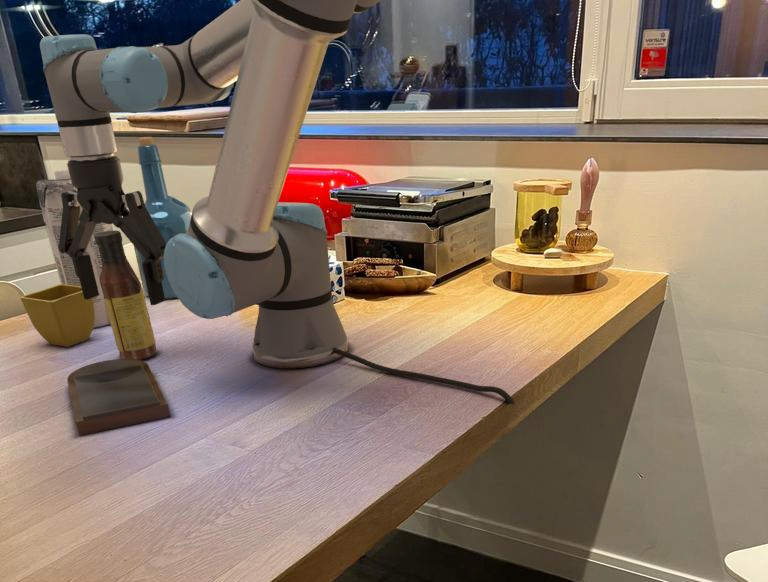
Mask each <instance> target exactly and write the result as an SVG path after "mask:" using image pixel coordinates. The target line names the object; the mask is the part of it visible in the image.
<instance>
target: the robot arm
mask: <svg viewBox="0 0 768 582" xmlns="http://www.w3.org/2000/svg"><path fill="white" fill-rule="evenodd" d="M381 1H382V0H239V1H238V2H236V3H235V4H233V5H232V6H231V7H229V8H228V9H226V10H225V11H224V12H223V13H221V14H219V16H217V17H216V18H215V19H214V20H212V21H211V22H210V23H207V24H206V25H205V26H204V27H203V28H201V29H200V30H198V31H197V32H196V33H195V34H194V35H192V36H191V37H189V38H188V39H187V40H185V41H184V42H182V43H180V44H177V45H159V46H136V45H135V46H134V45H133V46H132V45H130V46H124V45H122V46H117V47H113V48H105V49H98V48H97V45H96V41H95V39H94V37H93V36H92V35H90V34H85V33H83V34H81V33H79V34H62V35H61V34H60V35H47V36H44V37H42V38H41V40H40V42H39V48H40V49H39V50H40V54H41V58H42V64H43V67H42V69H43V70H42V71H43V74H44V77H45V79H46V84H47V88H48V92H49V96H50V99H51V103H52V107H53V111H54V115H55V120H56V123H57V126H58V131H59V135H60V141H61V145H62V149H63V154H64V156H65V157H67V158H69V160H68V161H67V163H66V166H67V170H69V174H70V179H71V183H72V185H73V186H74V187H75V188H77V191H76V190H71V191H67V192H63V193H61V198H62V204H63V212H62V221H61V230H60V239H59V251H60V252H61V253H66V254H68V255H69V256H70V257H71V258H72V261H73V265H74V269H75V273H76V275H77V277H79V280H80V284H81V288H82V292H83V296H84V299H87V300H88V299H91V298H93V297H96V296H98V295H99V292H98V288H97V284H96V279H95V275H94V271H93V267H92V263H91V258H90V255H84V256H83V254H86V253H88V252H86V248H87V246H88V244H89V241H90V239H91V236H92V234H93V231H94V229H95V226H96V224H100V223H105V224H112V225H114V227H115V228H118V229H119V230H120V232H122V233H123V235H124V236H125V237H126V238H127V239H128V240H129V242H130V243H131V244H132V245H133V247H134V246H135V247H136V249H137V250H138V251H139V252H140V253H141V255H142V256H143V257H144V258H145V261H144V262H143V263H142V265H143V270H144V275H145V280H146V284H147V289H148V294H149V296H148V299H149V303H150V306H156V305H158V304H160V303H162V302H163V303H164V302H165V301H166V299H165V297H164V292H163V287H162V281H163V280H164V276H163V270H162V265H161V258H162V257H164V266H165V271H166V275H167V278H168V281H169V282H170V284H171V287H172V289H173V291H174V293H175V294H176V296H177V297H178V298H177V299H178V301H179V302H180V303H181V304H182V305H183V306H184V307H185V309H187V310H188V311H189V312H190V313H192V314H193V315H195V316H196V317H199V318H201V319H205V320H214V319H218V318H221V317H229V316H231V315H233V314H234V313H235V314H236V313H237V312H240V311H242V310H245V309H247V308H250V307H253V306H255V305H257V306H258V312H257V313H258V314H257V320H256V324H255V329H254V337H253V344H252V351H253V357H254V360H255V362H257V363H259V364H260V365H263V366H266V367H270V368H275V369H303V368H304V369H305V368H311V367H316V366H320V365H325V364H328V363H332V362H334V361H336V360H338V359H340V358H342V357H344V358H347V359H349V360H352V361H355V362H357V363H359V364H362V365H364V366H365V367H368V368H371V369H374V370H376V371H380V372H384V373H387V374H391V375H396V376H400V377H408V378H413V379H418V380H423V381H427V382H432V383H433V382H434V383H438V384H443V385H448V386H453V387H458V388H461V389H467V390H470V391H474V392H481V393H495V394H497V395H499V396H500V397H502V398H503V399H504V400H505V402H506V403H507V404H509V405H515V404H516V402H515V401H514V398H513V397H511V395H510V394H509V393H508V392H507V391H505V390H504V389H502V388H500V387H498V386H491V385H478V384H473V383H471V382H470V383H469V382H466V381H460V380H456V379H450V378H447V377H446V378H445V377H440V376H436V375H430V374H426V373H420V372H414V371H409V370H402V369H398V368H393V367H388V366H385V365H381V364H378V363H375V362H372V361H371V360H368V359H365V358H363V357H360V356H359V355H356V354H353V353H350V352H348V350H349V342H348V336H347V333H346V331H345V329H344V326H343V324H342V321H341V319H340V317H339V314H338V312H337V309H336V307H335V305H334V302H333V293H332V282H331V270H330V260H329V247H328V236H327V235H328V230H327V227H326V223H325V216H324V212H323V210H322V208H321V207H319V205H316V204H314V203H308V202H287V201H285V202H283V201H280V202H279V200H280V198H281V194H282V191H283V188H284V185H285V182H286V179H287V175H288V172H289V169H290V166H291V163H292V160H293V156H294V153H295V150H296V147H297V143H298V140H299V137H300V134H301V131H302V128H303V125H304V122H305V120H306V119H305V118H306V116H307V112H308V109H309V106H310V103H311V99H312V97H313V93H314V91H315V87H316V84H317V81H318V77H319V76H320V75H319V74H320V72H321V69H322V65H323V62H324V59H325V55H326V53H327V49H328V46H329V44H330V42H331V41H333V40H335V39H338V38H340V37H342V36H344V35H346V33H348V29H349V27H350V24H351V20H352V19H353V18H352V17H353V15H354V14H361V13H364V12H365V11H367V10H368V9H370V8H371V7H373V6H374V5H376V4H378V3H380V2H381ZM234 85H235V87H234ZM233 87H234V91H233V95H232V100H231V103H230V107H229V111H228V115H227V119H226V124H225V127H224V132H223V136H222V140H221V144H220V148H219V151H218V156H217V159H216V165H215V168H214V172H213V177H212V180H211V185H210V189H209V193H208V196H205V197H203V198H201V199H199V200H197V202H195V204H194V205H193V208H192V210H191V211H192V212H191V214H192V215H191V219H190V224H189V228H188V231H187V232H186V233H185V234H181V233H180V234H178V235H175V237H173V238H171V239H170V240H169V241H168V243H167V244H166V242H165V240H164V239H163V237H162V235H161V233H160V232H159V230H158V228H157V226H156V224H155V223H154V221H153V219H152V217H151V216H150V214H149V212H148V210H147V209H146V207H145V204H144V203H145V199H144V197H143V193H142V192H141V191H140V190H136V191H132V192H128V193H125V192H124V189H123V183H124V175H123V174H124V173H123V170H122V165H121V160H120V158H118V156H117V155H115V153H117V152H118V147H117V142H116V137H115V132H114V127H113V123H112V117H111V112H117V113H118V112H121V113H123V112H124V113H125V112H127V113H130V114H137V113H145V112H149V111H153V110H155V109H163V108H170V107H179V106H190V105H191V106H192V105H209V104H212V103H214V102H219V101H222V100H224V99H226V98H228V97H229V95H230V94H231V91H232V89H233ZM80 205H81V207H82V208H83V210H82V212H81V215H80V217H79V214H80ZM79 221H80V223H79V225H78V222H79Z"/></svg>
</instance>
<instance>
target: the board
mask: <svg viewBox="0 0 768 582" xmlns="http://www.w3.org/2000/svg"><path fill="white" fill-rule="evenodd" d="M66 379H67V386H68V390H69V395H70V400H71V401H70V402H71V406H72V411H73V415H74V420H75V424H76V428H77V432H78V435H79V436H80V437H81V436H86V435H91V434H94V433H95V434H96V433H100V432H104V431H109V430H114V429H118V428H124V427H128V426H129V427H130V426H133V425H138V424H143V423H147V422H152V421H157V420H163V419H166V418H171V414H170V413H171V412H170V407H169V404H168V402H167V399H166V398H165V396H164V393H163V391H162V389H161V388H160V385H159V384H158V382H157V379H156V377H155V376H154V374H153V371H152V370H151V367H150V365H149V364H148V363H147V362H146V361H143V360H135V359H122V358H117V359H116V358H115V359H109V360H103V361H98V362H94V363H90V364H88V365H83V366H82V367H79V368H77V369H76V370H73V371H72V372H70V374H69V375H68V376H67V378H66Z"/></svg>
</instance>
